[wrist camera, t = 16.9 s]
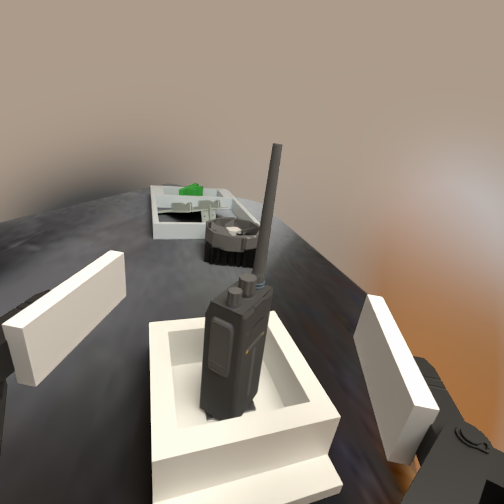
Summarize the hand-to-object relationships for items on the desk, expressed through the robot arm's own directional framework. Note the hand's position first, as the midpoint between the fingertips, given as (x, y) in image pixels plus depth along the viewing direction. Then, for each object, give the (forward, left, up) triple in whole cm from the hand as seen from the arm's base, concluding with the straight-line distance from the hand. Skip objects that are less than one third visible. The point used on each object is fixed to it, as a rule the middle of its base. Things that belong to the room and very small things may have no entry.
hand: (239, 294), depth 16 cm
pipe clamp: (-65, +7, -14) cm, 67 cm away
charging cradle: (-4, +1, -14) cm, 14 cm away
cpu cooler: (-33, +10, -14) cm, 37 cm away
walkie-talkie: (-4, +1, -13) cm, 13 cm away
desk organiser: (-56, +7, -14) cm, 58 cm away
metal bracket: (-54, +6, -14) cm, 56 cm away
